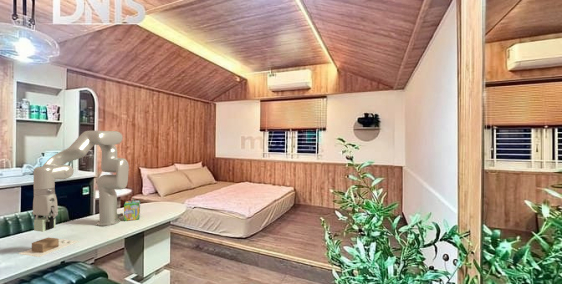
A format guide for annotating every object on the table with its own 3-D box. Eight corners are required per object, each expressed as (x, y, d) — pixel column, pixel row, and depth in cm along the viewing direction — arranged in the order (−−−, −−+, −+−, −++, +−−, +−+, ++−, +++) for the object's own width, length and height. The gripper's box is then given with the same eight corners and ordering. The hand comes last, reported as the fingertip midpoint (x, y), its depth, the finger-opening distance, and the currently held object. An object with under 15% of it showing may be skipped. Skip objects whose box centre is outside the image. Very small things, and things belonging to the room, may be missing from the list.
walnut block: (48, 245, 129) (48, 237, 128) (58, 246, 127) (58, 238, 127) (31, 251, 122) (31, 243, 122) (42, 252, 120) (42, 244, 120)
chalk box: (125, 217, 176) (125, 196, 175) (140, 215, 180) (140, 195, 179) (123, 221, 167) (123, 199, 167) (139, 219, 171) (139, 198, 171)
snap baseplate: (58, 240, 137) (58, 237, 137) (79, 243, 133) (79, 240, 133) (17, 255, 119) (17, 252, 119) (39, 259, 116) (39, 255, 116)
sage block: (47, 226, 127) (47, 215, 127) (55, 227, 126) (55, 216, 126) (34, 230, 122) (34, 219, 122) (42, 231, 121) (42, 220, 121)
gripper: (66, 191, 125) (66, 227, 126) (40, 189, 129) (40, 224, 130) (49, 194, 118) (49, 232, 118) (22, 192, 122) (23, 229, 122)
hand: (45, 228), depth 124 cm, fingers closed on sage block, 5 cm apart
